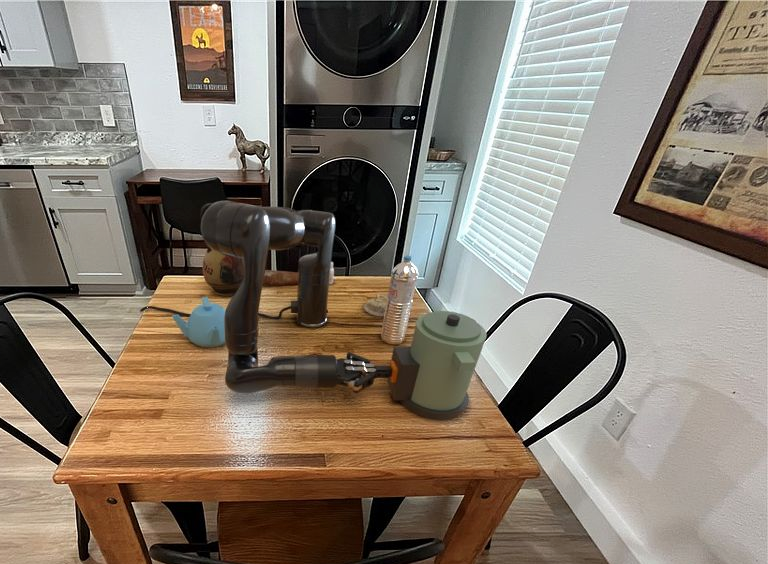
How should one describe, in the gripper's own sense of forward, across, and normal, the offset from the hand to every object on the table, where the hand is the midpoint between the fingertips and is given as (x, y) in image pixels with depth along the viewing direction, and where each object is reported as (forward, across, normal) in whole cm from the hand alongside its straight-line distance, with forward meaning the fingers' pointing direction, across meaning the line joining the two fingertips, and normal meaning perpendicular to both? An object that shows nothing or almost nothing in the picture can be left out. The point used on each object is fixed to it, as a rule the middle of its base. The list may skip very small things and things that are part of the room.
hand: (390, 371), depth 87 cm
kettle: (+10, +1, +8) cm, 12 cm away
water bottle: (+8, +26, +8) cm, 28 cm away
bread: (-23, +66, +8) cm, 70 cm away
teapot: (-45, +27, +8) cm, 53 cm away
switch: (+1, 0, +2) cm, 2 cm away
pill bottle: (-7, +67, +8) cm, 68 cm away
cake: (+8, +45, +8) cm, 46 cm away
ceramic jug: (-45, +59, +8) cm, 75 cm away
